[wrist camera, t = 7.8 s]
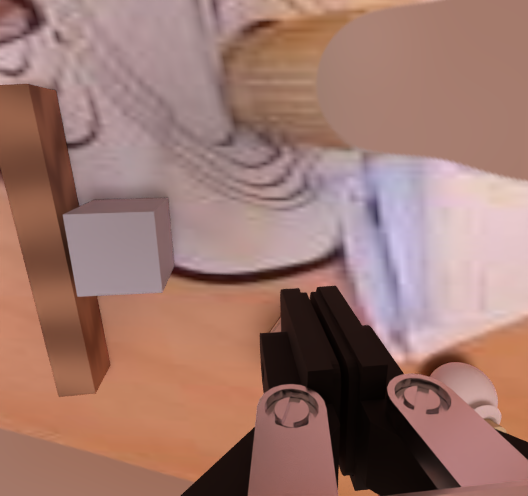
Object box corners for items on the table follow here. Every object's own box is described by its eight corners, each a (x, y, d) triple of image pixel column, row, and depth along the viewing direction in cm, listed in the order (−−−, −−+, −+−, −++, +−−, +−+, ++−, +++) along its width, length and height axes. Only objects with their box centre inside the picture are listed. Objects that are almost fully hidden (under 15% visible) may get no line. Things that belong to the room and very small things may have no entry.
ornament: (478, 383, 39) (557, 464, 30) (414, 414, 40) (471, 502, 30) (461, 340, 37) (539, 411, 28) (394, 372, 38) (449, 452, 28)
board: (14, 92, 28) (-21, 85, 24) (55, 90, 28) (28, 84, 24) (77, 368, 35) (58, 396, 31) (110, 365, 35) (95, 393, 31)
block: (94, 199, 31) (62, 214, 25) (168, 197, 31) (153, 211, 25) (104, 267, 32) (77, 296, 27) (174, 264, 33) (162, 292, 27)
